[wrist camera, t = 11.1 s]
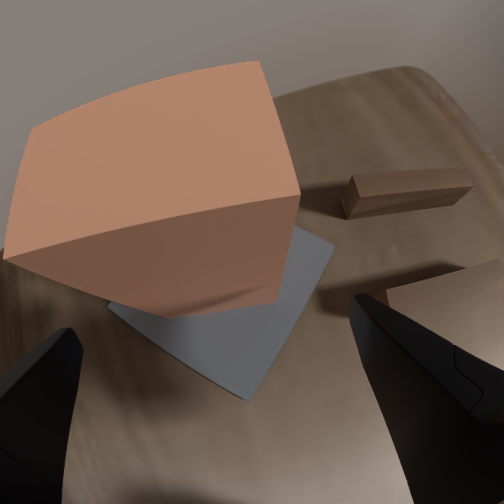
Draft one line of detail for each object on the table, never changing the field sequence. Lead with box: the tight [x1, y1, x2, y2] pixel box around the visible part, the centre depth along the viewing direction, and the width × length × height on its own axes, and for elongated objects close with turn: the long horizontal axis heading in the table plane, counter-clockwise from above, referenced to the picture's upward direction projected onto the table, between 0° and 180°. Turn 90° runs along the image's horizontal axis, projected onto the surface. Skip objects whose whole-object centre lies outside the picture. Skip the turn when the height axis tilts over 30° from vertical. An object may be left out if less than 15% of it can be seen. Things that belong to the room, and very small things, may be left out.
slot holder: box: [341, 168, 504, 314], centre depth 15 cm, size 8×9×3 cm
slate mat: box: [108, 225, 336, 402], centre depth 17 cm, size 10×10×1 cm
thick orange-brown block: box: [3, 61, 301, 319], centre depth 11 cm, size 4×6×12 cm, turn 100°
